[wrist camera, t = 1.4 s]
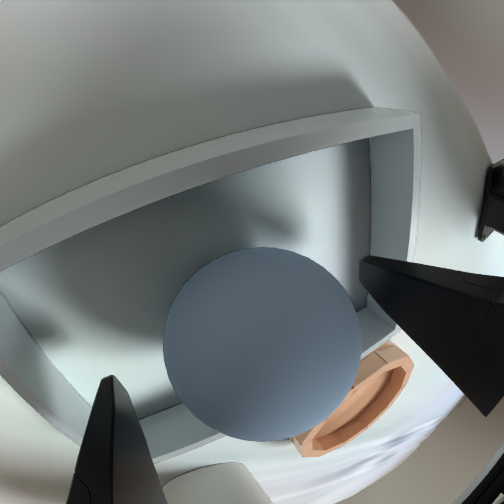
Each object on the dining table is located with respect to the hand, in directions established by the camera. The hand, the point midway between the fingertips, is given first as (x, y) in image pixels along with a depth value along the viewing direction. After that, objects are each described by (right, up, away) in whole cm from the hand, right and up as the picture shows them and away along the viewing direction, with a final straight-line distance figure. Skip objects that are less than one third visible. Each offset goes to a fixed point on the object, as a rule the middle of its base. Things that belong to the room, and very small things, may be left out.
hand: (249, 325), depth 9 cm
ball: (-1, +1, +1) cm, 2 cm away
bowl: (+7, -8, +10) cm, 14 cm away
